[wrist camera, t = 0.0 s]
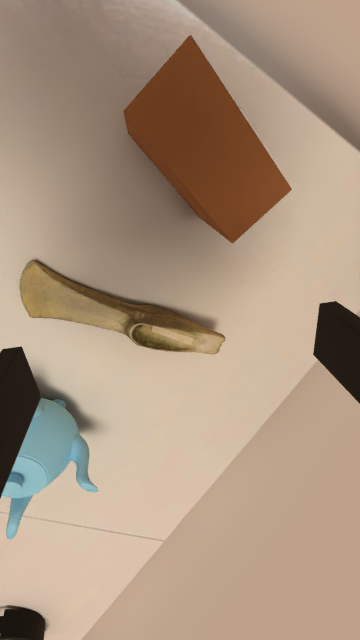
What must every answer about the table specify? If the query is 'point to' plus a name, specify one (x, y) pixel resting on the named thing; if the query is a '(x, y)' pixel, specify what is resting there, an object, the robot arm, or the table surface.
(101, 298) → the tool
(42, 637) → the headphones
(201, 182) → the brown rectangular block
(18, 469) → the teapot
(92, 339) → the table surface
